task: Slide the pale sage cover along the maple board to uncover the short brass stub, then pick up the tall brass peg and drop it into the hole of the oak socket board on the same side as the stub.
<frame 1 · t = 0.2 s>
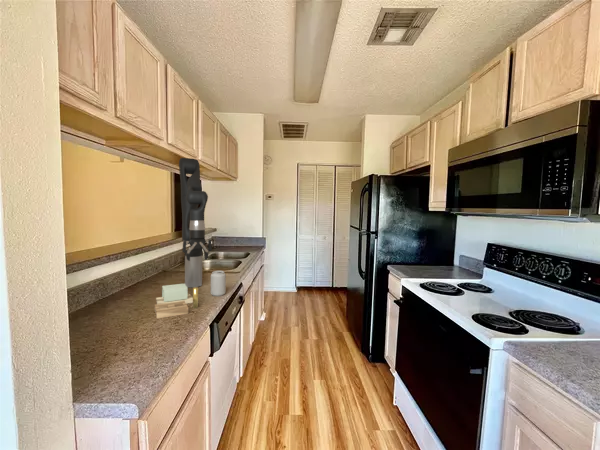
hand: (197, 259, 146), 17 cm above the counter, fingers open, 8 cm apart
socket board: (171, 311, 120), on the counter
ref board: (174, 301, 132), on the counter
peg: (195, 307, 126), on the counter
can: (218, 294, 145), on the counter
cover: (174, 292, 132), point 5 cm above the counter, slide at 0.0 cm
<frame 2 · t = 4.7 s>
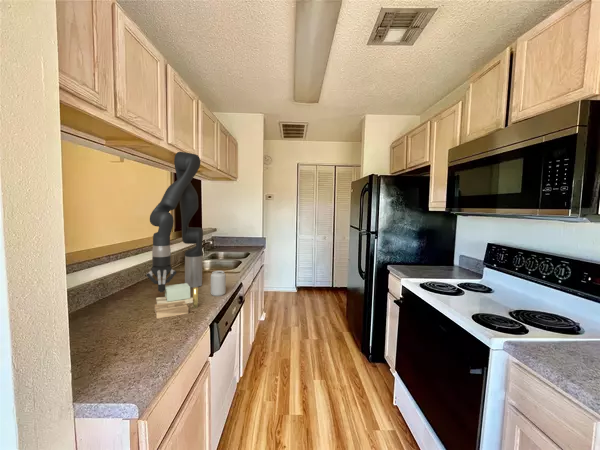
hand: (161, 291, 129), 5 cm above the counter, fingers closed
cover: (177, 291, 133), point 5 cm above the counter, slide at 1.2 cm, touching gripper
everything else where it was.
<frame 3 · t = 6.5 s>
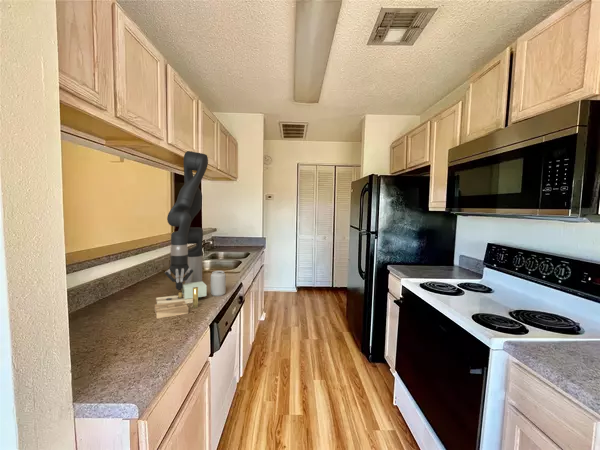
hand: (179, 289, 133), 5 cm above the counter, fingers closed
cover: (194, 289, 137), point 5 cm above the counter, slide at 8.7 cm, touching gripper
everything else where it was.
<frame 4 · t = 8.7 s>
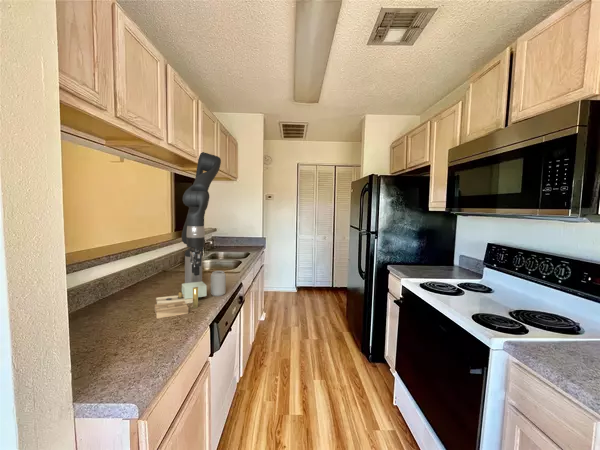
hand: (195, 273, 125), 15 cm above the counter, fingers open, 4 cm apart
cover: (194, 289, 137), point 5 cm above the counter, slide at 8.7 cm
everything else where it was.
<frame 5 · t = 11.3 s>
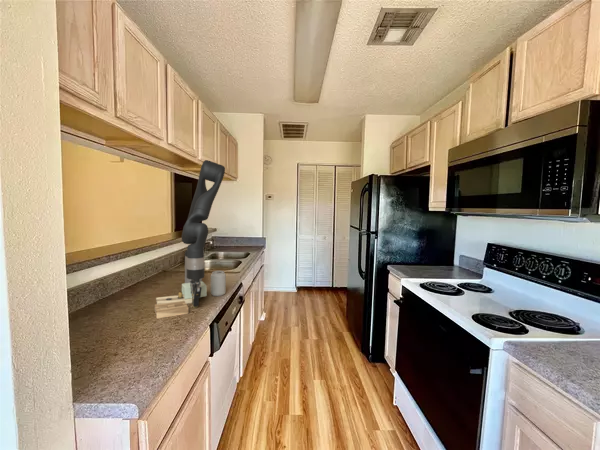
hand: (195, 305, 126), 1 cm above the counter, fingers closed on peg, 2 cm apart
peg: (195, 307, 126), on the counter, touching gripper
everything else where it was.
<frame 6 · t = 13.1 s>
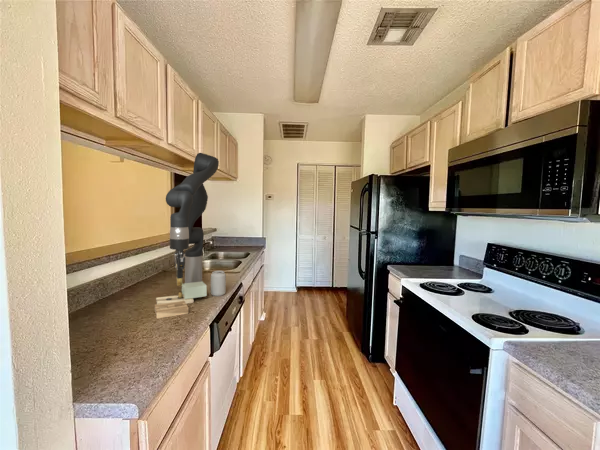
hand: (179, 277, 120), 15 cm above the counter, fingers closed on peg
peg: (179, 285, 121), point 11 cm above the counter, touching gripper
everything else where it was.
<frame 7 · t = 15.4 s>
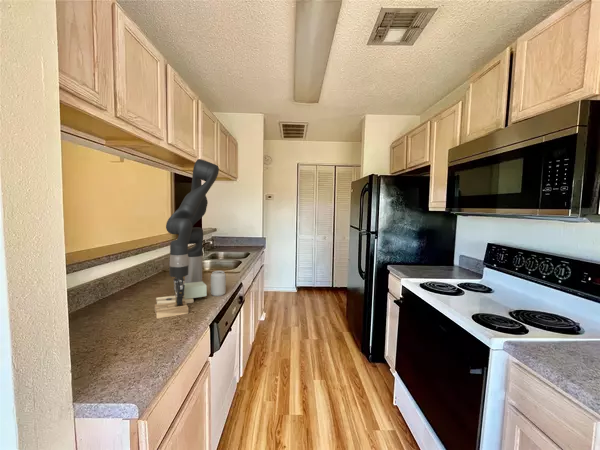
hand: (179, 303, 121), 3 cm above the counter, fingers closed on peg, 2 cm apart
peg: (179, 310, 121), resting in socket board, touching gripper
everything else where it was.
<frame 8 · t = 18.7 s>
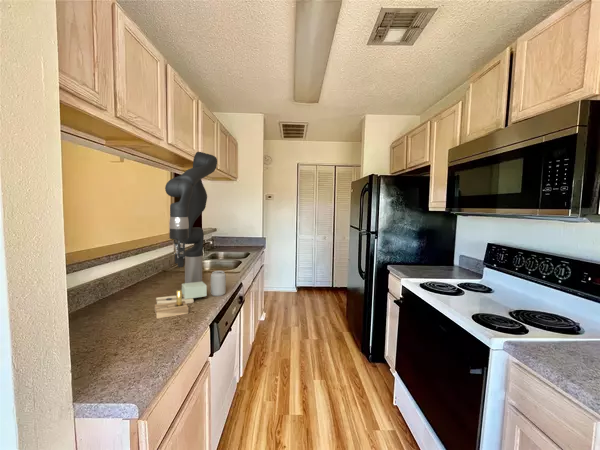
hand: (179, 265, 120), 20 cm above the counter, fingers open, 8 cm apart
peg: (179, 310, 121), resting in socket board
everything else where it was.
at the end: peg 0.3 cm from the target spot on the socket board, point 0.0 cm above the socket board's base; cover slide at 8.7 cm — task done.
